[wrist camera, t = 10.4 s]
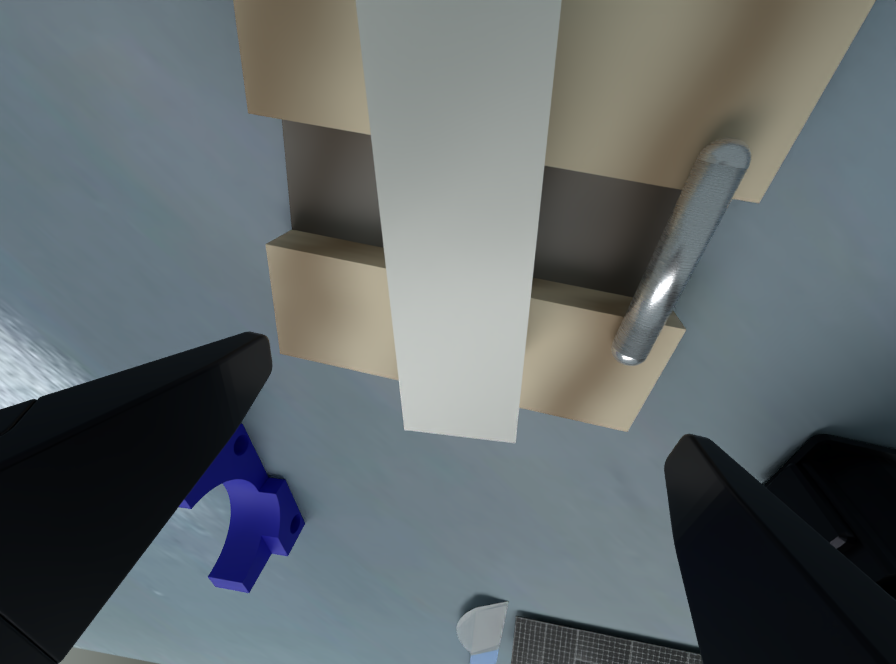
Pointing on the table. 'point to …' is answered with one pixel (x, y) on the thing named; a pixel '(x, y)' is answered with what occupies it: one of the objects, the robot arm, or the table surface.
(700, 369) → the table surface
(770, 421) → the table surface
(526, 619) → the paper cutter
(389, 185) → the white rectangular block
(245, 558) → the cable clip
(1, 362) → the table surface
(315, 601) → the table surface
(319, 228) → the wooden grooved board
